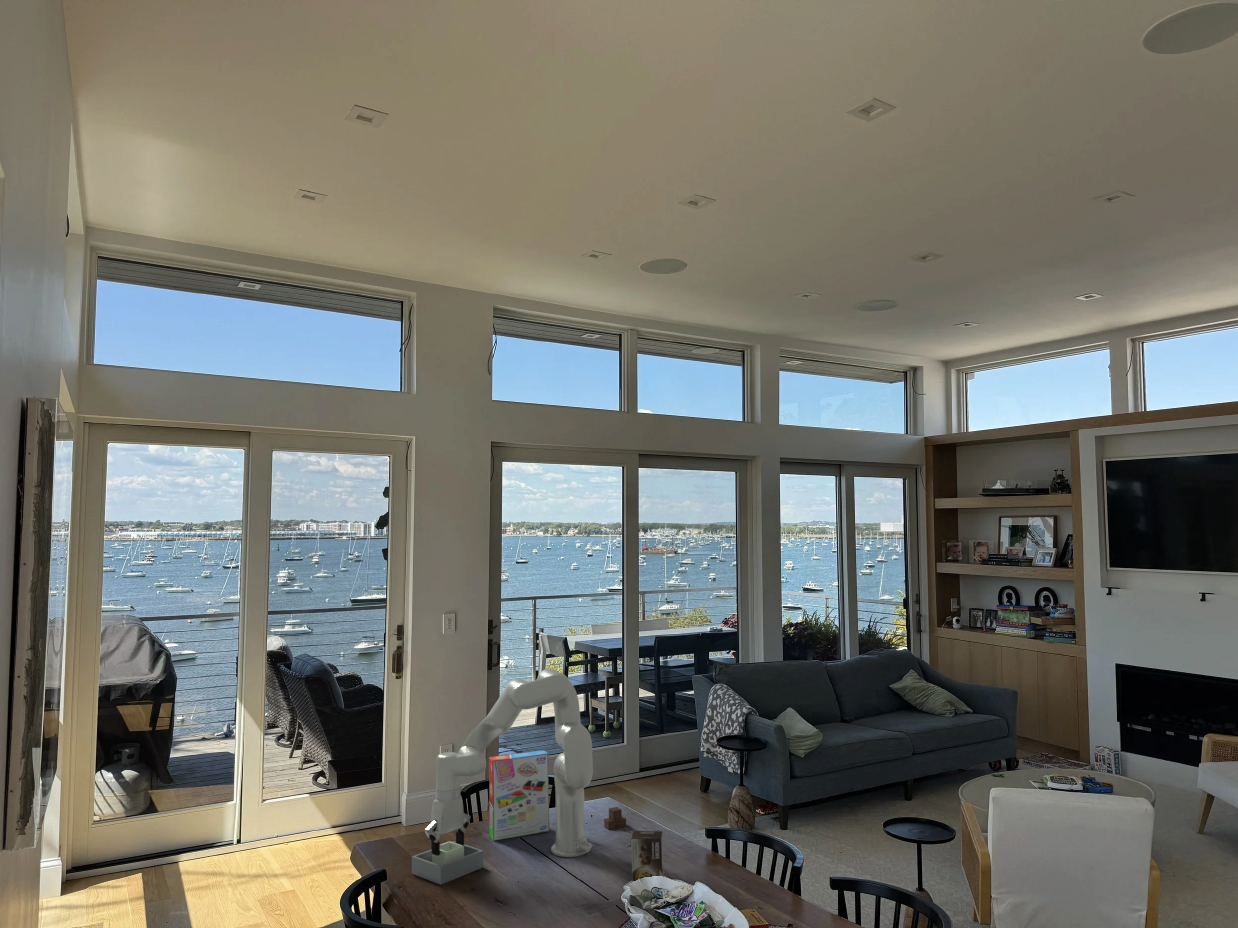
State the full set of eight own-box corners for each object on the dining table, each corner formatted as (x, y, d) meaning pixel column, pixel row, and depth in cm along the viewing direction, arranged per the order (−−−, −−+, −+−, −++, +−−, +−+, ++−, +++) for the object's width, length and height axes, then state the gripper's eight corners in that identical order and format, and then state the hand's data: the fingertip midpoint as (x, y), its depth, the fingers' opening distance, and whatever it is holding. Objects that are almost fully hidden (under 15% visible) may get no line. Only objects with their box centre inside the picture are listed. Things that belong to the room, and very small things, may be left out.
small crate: (463, 867, 264) (464, 845, 264) (446, 874, 258) (446, 852, 259) (449, 861, 268) (449, 840, 269) (431, 868, 263) (432, 847, 263)
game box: (544, 827, 302) (544, 749, 304) (550, 831, 296) (549, 752, 299) (488, 836, 293) (488, 756, 296) (492, 841, 288) (492, 759, 291)
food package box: (664, 886, 248) (663, 830, 250) (663, 896, 242) (662, 838, 243) (633, 886, 249) (632, 829, 251) (631, 895, 243) (631, 837, 244)
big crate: (483, 868, 265) (483, 850, 266) (440, 885, 252) (440, 866, 253) (454, 858, 274) (454, 840, 275) (411, 874, 261) (411, 856, 261)
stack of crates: (607, 839, 290) (606, 819, 291) (589, 826, 304) (589, 806, 304) (645, 832, 296) (645, 812, 297) (627, 820, 310) (627, 800, 310)
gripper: (461, 785, 274) (461, 839, 273) (418, 798, 261) (418, 855, 259) (476, 789, 270) (476, 844, 268) (433, 802, 256) (433, 860, 255)
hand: (447, 849), depth 264 cm, fingers open, 9 cm apart
